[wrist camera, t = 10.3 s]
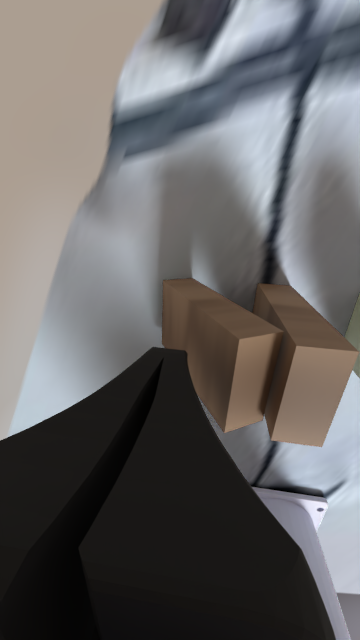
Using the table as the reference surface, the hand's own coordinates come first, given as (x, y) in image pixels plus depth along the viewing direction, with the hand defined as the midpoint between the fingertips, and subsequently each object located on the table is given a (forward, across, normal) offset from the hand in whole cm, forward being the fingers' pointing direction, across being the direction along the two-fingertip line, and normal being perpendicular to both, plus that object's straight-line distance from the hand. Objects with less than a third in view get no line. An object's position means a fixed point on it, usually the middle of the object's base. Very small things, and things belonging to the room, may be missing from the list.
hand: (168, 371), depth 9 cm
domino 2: (+6, -5, 0) cm, 8 cm away
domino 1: (+6, 0, 0) cm, 6 cm away
